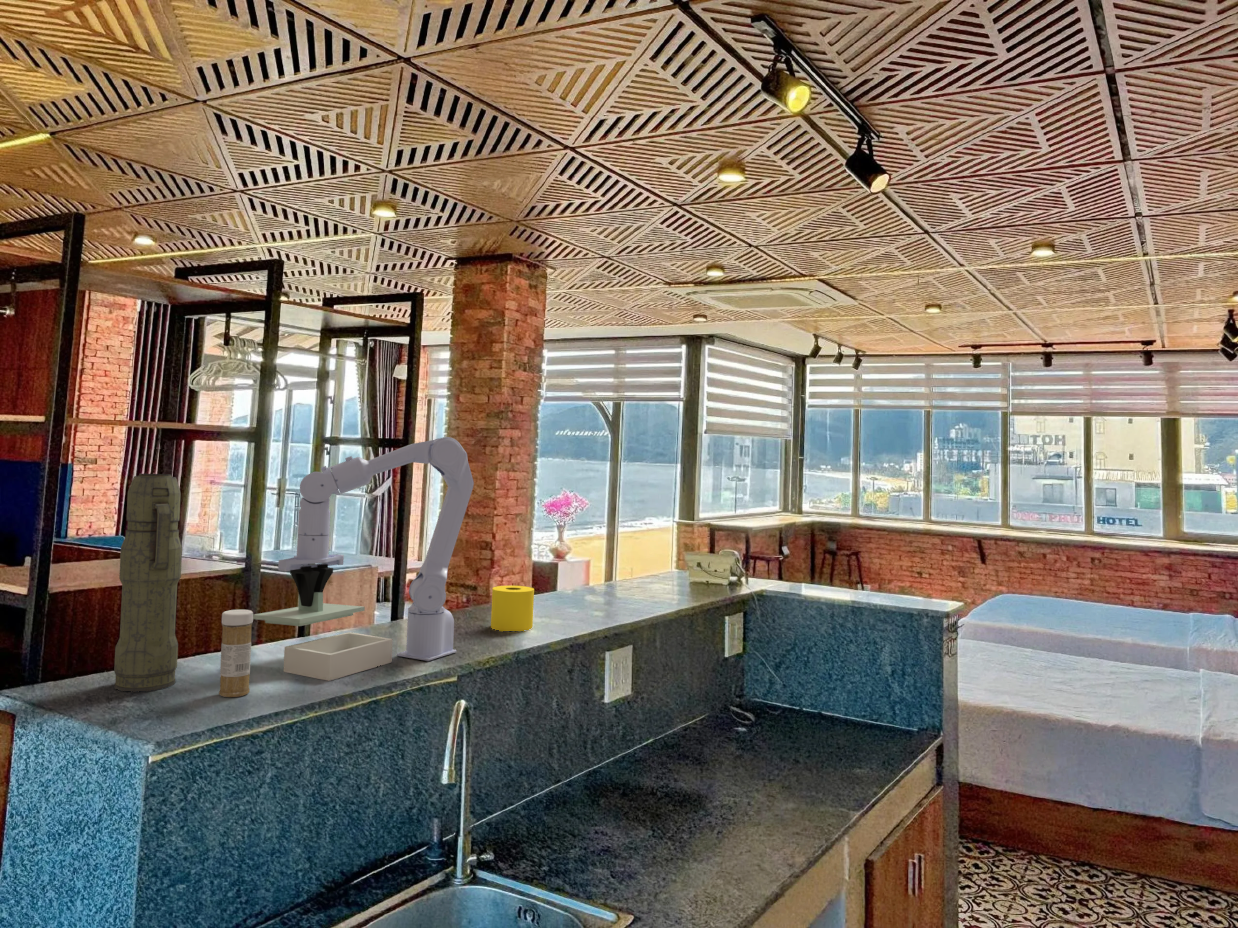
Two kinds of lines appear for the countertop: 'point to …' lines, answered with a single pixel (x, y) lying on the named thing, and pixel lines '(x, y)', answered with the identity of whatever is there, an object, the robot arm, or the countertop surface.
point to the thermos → (149, 585)
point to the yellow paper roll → (512, 608)
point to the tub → (337, 655)
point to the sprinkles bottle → (235, 653)
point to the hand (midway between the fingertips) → (310, 605)
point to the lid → (309, 613)
